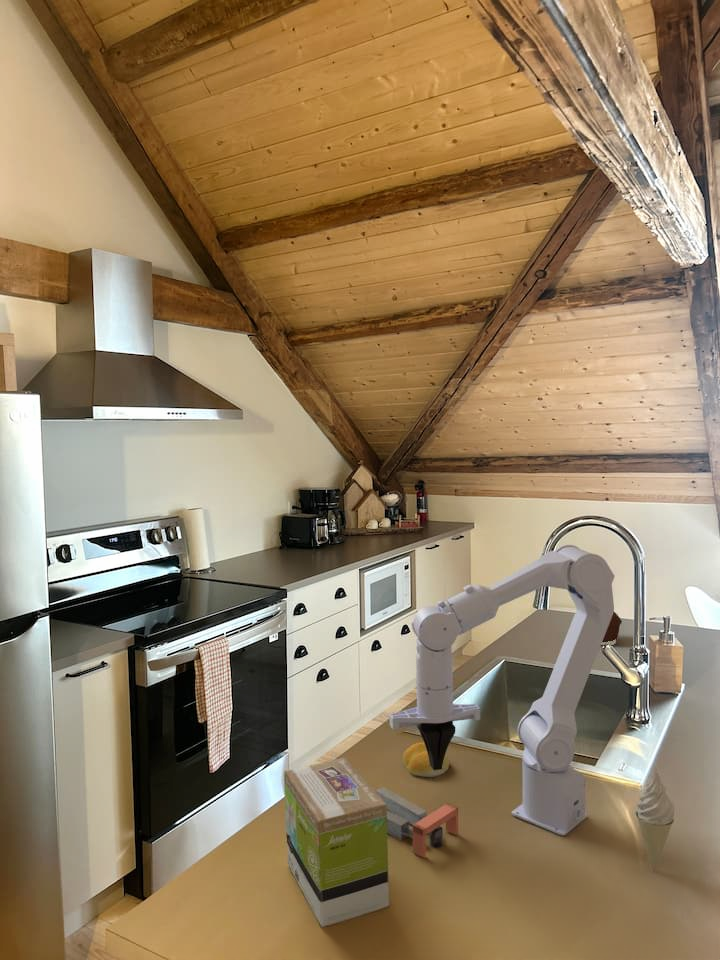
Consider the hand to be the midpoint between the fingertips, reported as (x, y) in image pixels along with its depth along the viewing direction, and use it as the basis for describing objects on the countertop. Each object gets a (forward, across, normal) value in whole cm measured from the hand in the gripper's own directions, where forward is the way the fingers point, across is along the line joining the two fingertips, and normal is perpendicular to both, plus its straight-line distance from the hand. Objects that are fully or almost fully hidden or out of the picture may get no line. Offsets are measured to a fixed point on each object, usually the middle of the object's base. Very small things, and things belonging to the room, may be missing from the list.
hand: (435, 767), depth 115 cm
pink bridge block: (+9, +2, +5) cm, 11 cm away
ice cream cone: (+10, -26, +20) cm, 34 cm away
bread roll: (+10, -4, -19) cm, 22 cm away
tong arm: (+9, +4, -3) cm, 10 cm away
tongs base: (+9, +7, 0) cm, 11 cm away
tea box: (+10, +19, +12) cm, 24 cm away
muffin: (+10, -78, -80) cm, 112 cm away
